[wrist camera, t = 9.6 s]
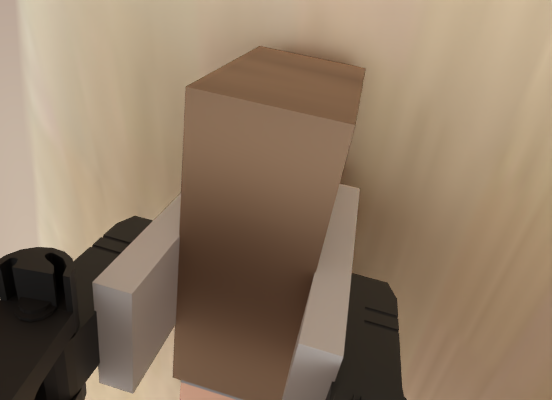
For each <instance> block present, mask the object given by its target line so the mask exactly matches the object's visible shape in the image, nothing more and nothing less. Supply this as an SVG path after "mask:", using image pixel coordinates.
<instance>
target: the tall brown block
mask: <svg viewBox="0 0 552 400" xmlns="http://www.w3.org/2000/svg"><path fill="white" fill-rule="evenodd" d="M365 69H366V68H362V67H357V66H352V65H347V64H343V63H338V62H333V61H328V60H324V59H319V58H314V57H309V56H304V55H300V54H295V53H290V52H285V51H281V50H276V49H271V48H266V47H261V46H259V47H257V48H255V49H253V50H252V51H250V52H248V53H246V54H244V55H242V56H241V57H239V58H237V59H235V60H233V61H232V62H230V63H228V64H226V65H224V66H222V67H221V68H219V69H217V70H215V71H213V72H212V73H210V74H208V75H206V76H204V77H203V78H201V79H199V80H197V81H195V82H193V83H192V84H190V85H188V86H186V93H185V116H184V138H183V160H182V183H181V205H180V227H179V235H180V241H179V263H178V285H177V307H176V324H175V339H174V361H173V378H177V379H180V380H181V382H182V383H185V384H188V385H191V386H195V387H198V388H201V389H204V390H207V391H210V392H214V393H217V394H220V395H223V396H226V397H229V398H232V399H236V400H282V398H283V394H284V390H285V385H286V381H287V377H288V373H289V369H290V364H291V360H292V356H293V352H294V349H295V345H296V341H297V337H298V334H299V330H300V326H301V322H302V319H303V315H304V311H305V307H306V304H307V300H308V296H309V292H310V289H311V285H312V281H313V277H314V274H315V273H316V270H317V266H318V263H319V259H320V255H321V251H322V248H323V244H324V240H325V237H326V233H327V229H328V225H329V222H330V218H331V214H332V210H333V207H334V203H335V199H336V196H337V192H338V188H339V184H340V181H341V177H342V173H343V169H344V166H345V162H346V158H347V154H348V151H349V147H350V143H351V140H352V136H353V132H354V128H355V124H356V119H357V113H358V108H359V102H360V97H361V91H362V86H363V80H364V75H365Z"/></svg>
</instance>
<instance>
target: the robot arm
mask: <svg viewBox="0 0 552 400" xmlns="http://www.w3.org/2000/svg"><path fill="white" fill-rule="evenodd" d="M359 193H360V188H356V187H352V186H348V185H344V184H339V188H338V192H337V196H336V199H335V203H334V207H333V210H332V214H331V218H330V222H329V225H328V229H327V233H326V237H325V240H324V244H323V248H322V251H321V255H320V259H319V263H318V266H317V270H316V273H315V274H314V277H313V281H312V285H311V289H310V292H309V296H308V300H307V304H306V307H305V311H304V315H303V319H302V322H301V326H300V330H299V334H298V337H297V341H296V345H295V349H294V352H293V356H292V360H291V364H290V369H289V373H288V377H287V381H286V385H285V390H284V394H283V398H282V400H406V398H405V397H404V395H403V390H402V378H401V360H400V343H399V333H398V330H399V326H398V319H397V317H398V308H397V298H396V297H395V295H394V293H393V291H392V290H391V288H390V286H389V284H388V283H387V282H383V281H379V280H375V279H372V278H368V277H364V276H361V275H357V274H353V273H352V265H353V254H354V244H355V234H356V224H357V214H358V204H359ZM180 205H181V193H180V194H179V195H178V196H177V197H176V198H175V199H174V200H173V201H172V202H171V203H170V204H169V205H168V206H167V207H166V208H165V209H164V210H163V211H162V212H161V213H160V214H159V215H158V216H157V217H156V218H155V219H154V220H153V221H152V220H149V219H145V218H141V217H138V216H133V217H131V218H129V219H126V220H124V221H121V222H119V223H117V224H116V225H114V226H113V227H112V228H111V229H110V230H109V231H108V232H106V233H105V234H104V236H103V238H102V237H101V238H100V239H99V240H97V241H96V242H95V243H94V244H93V246H92V247H89V248H88V249H87V250H86V251H85V252H84V253H83V254H82V255H80V256H79V257H78V258H77V259H76V260H75V261H74V262H73V259H72V258H71V257H70V256H69V255H68V254H67V253H65V252H63V251H60V250H57V249H54V248H44V247H35V248H29V249H23V250H19V251H16V252H13V253H10V254H8V255H6V256H3V257H2V258H0V400H84V399H85V396H86V383H85V382H86V381H87V379H88V378H89V377H90V375H91V374H92V373H93V371H94V370H95V369H96V367H97V366H98V369H99V382H100V383H102V384H105V385H108V386H111V387H114V388H117V389H120V390H123V391H127V392H130V393H134V391H135V390H136V388H137V386H138V385H139V383H140V381H141V380H142V378H143V377H144V375H145V373H146V372H147V370H148V368H149V367H150V365H151V363H152V362H153V360H154V359H155V357H156V355H157V354H158V352H159V350H160V349H161V347H162V345H163V344H164V342H165V341H166V339H167V337H168V336H169V334H170V332H171V331H172V329H173V327H174V326H175V324H176V307H177V285H178V263H179V241H180V235H179V227H180Z"/></svg>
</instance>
